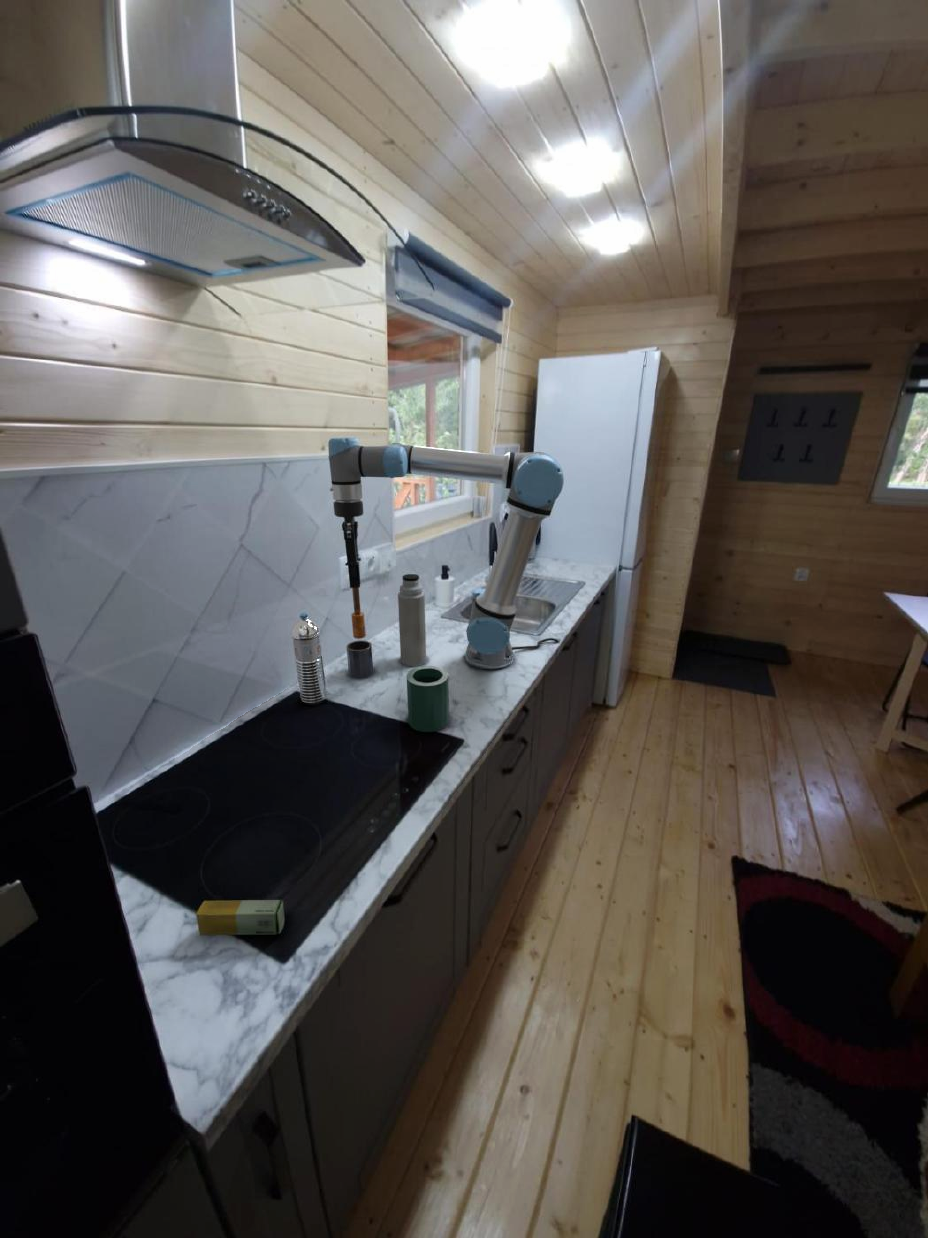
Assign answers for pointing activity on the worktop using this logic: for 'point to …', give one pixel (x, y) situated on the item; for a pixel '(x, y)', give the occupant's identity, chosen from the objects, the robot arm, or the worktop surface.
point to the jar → (428, 698)
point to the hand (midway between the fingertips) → (355, 585)
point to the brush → (357, 616)
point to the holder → (360, 659)
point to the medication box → (241, 917)
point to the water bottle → (309, 661)
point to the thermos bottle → (412, 621)
